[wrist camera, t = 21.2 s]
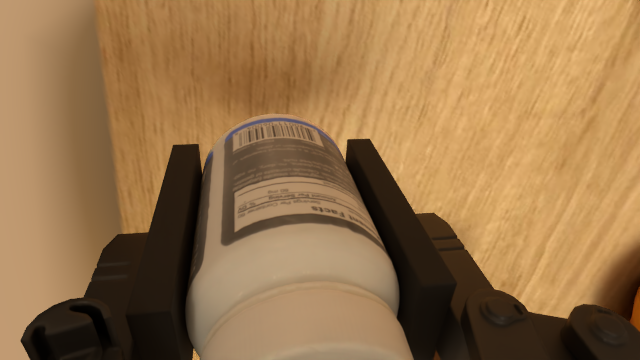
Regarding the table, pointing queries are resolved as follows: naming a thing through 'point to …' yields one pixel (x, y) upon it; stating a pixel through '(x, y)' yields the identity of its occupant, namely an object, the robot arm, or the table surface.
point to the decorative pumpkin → (636, 311)
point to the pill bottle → (288, 253)
